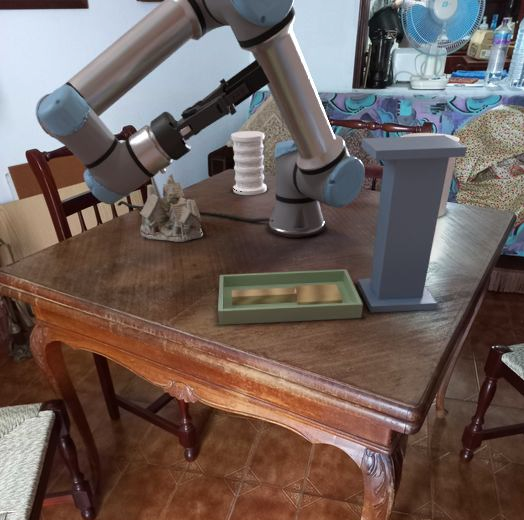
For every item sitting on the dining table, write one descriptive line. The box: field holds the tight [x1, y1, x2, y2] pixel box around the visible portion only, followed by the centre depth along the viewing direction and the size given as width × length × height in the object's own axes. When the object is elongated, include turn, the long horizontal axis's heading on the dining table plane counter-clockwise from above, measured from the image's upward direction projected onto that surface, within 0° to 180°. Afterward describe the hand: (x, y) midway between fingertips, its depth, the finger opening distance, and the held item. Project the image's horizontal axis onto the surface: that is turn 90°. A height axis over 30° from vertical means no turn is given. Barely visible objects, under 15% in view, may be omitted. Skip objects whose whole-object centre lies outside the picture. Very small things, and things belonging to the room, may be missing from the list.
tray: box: [217, 268, 364, 326], centre depth 96 cm, size 28×16×3 cm, turn 93°
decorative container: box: [230, 130, 268, 196], centre depth 158 cm, size 12×12×18 cm
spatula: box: [232, 284, 342, 305], centre depth 96 cm, size 22×7×2 cm, turn 93°
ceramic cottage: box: [139, 173, 204, 243], centre depth 127 cm, size 16×16×15 cm
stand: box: [356, 135, 468, 314], centre depth 89 cm, size 15×12×30 cm
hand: (262, 69), depth 79 cm, fingers open, 13 cm apart
